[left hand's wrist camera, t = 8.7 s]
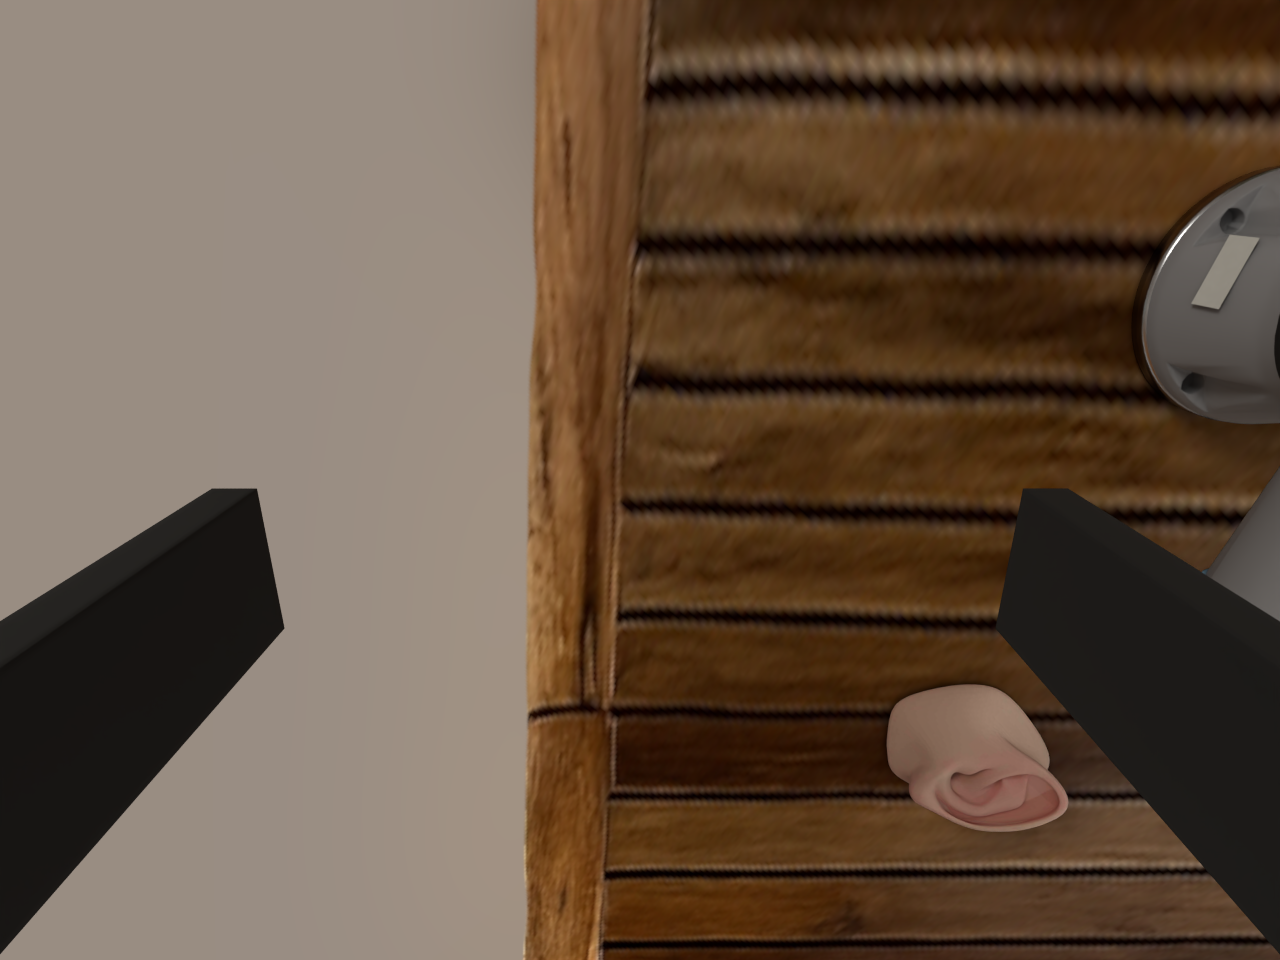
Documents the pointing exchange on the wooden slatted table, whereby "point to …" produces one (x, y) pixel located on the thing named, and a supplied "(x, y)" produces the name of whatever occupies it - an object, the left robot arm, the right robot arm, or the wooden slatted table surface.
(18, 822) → the left robot arm
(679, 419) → the wooden slatted table surface
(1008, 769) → the anatomical model
